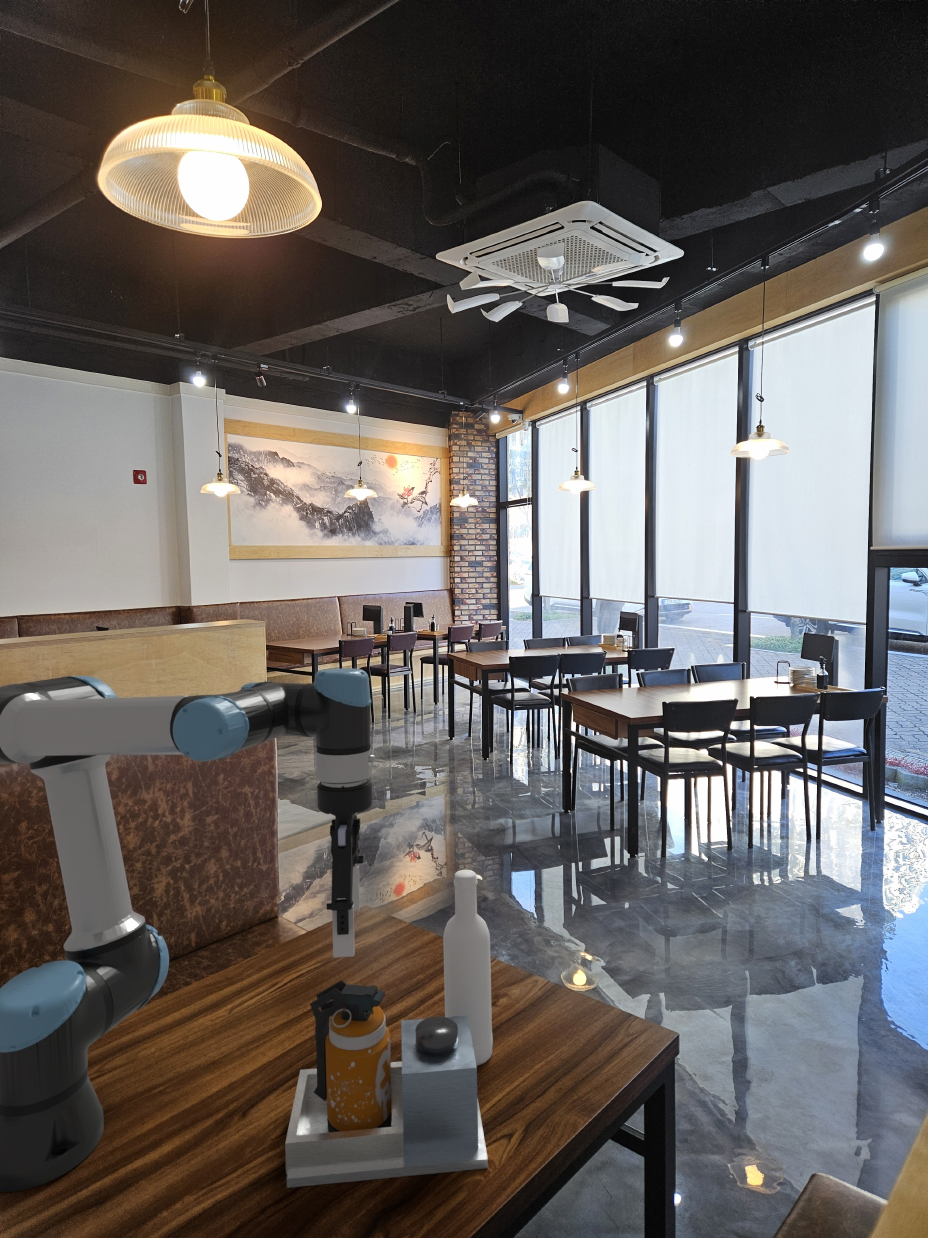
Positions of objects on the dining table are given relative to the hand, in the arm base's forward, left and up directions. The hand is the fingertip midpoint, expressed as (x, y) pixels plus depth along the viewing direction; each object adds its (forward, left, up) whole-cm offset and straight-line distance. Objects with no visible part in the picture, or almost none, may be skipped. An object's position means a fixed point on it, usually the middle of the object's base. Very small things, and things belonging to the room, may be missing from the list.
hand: (347, 931), depth 98 cm
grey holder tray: (+5, 0, -29) cm, 29 cm away
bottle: (+18, +16, -29) cm, 38 cm away
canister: (0, 0, -28) cm, 28 cm away
